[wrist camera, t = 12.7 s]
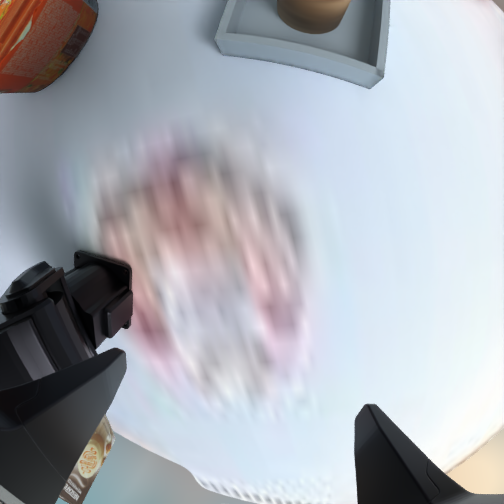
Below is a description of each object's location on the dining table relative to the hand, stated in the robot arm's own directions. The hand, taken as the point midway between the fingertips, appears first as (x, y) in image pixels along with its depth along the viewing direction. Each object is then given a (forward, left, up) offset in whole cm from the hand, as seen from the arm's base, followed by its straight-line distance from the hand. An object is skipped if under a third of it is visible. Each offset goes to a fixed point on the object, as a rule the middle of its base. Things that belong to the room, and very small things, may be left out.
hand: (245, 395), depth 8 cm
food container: (-27, +19, -13) cm, 36 cm away
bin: (-1, +21, -13) cm, 25 cm away
